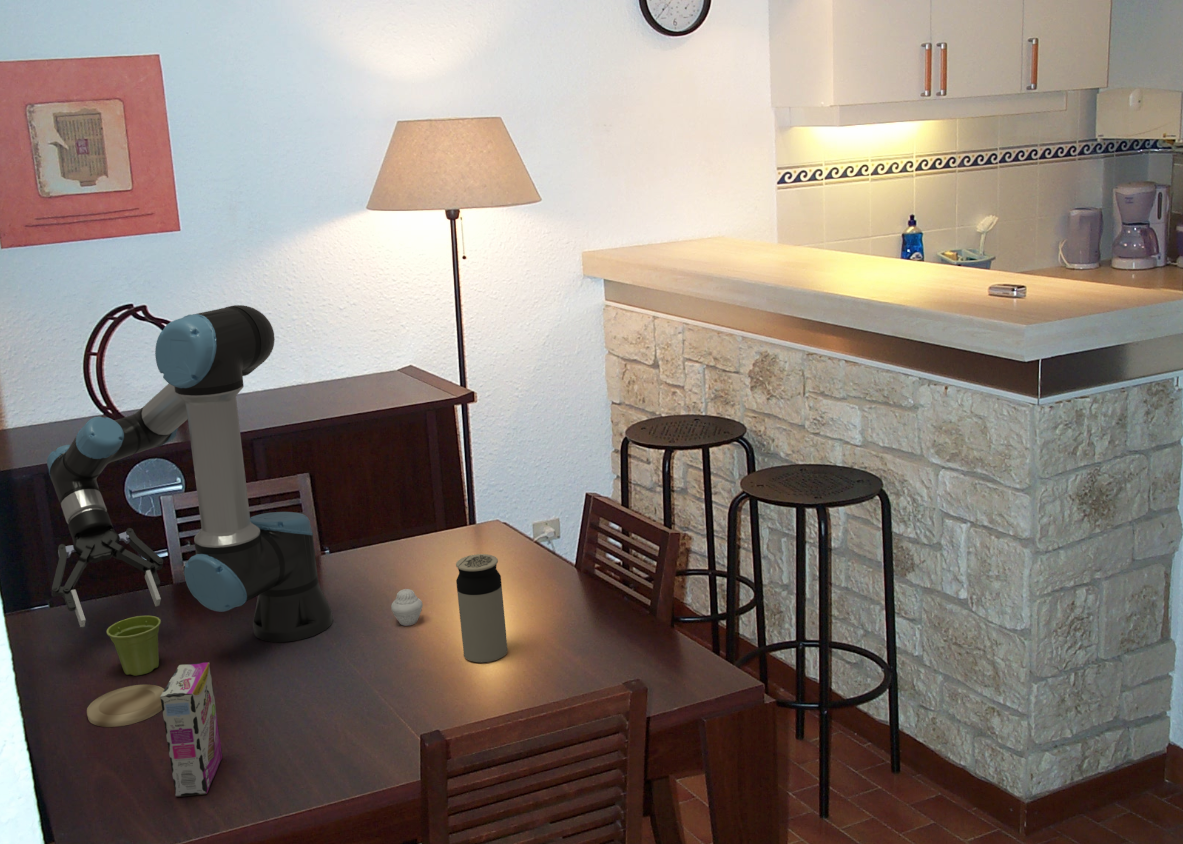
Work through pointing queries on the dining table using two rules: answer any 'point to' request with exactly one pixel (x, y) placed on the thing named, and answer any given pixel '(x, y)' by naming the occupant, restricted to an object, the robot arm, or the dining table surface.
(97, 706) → the plate
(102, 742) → the dining table surface
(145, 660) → the plant pot
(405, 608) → the muffin
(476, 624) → the travel mug
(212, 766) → the candy bar box
